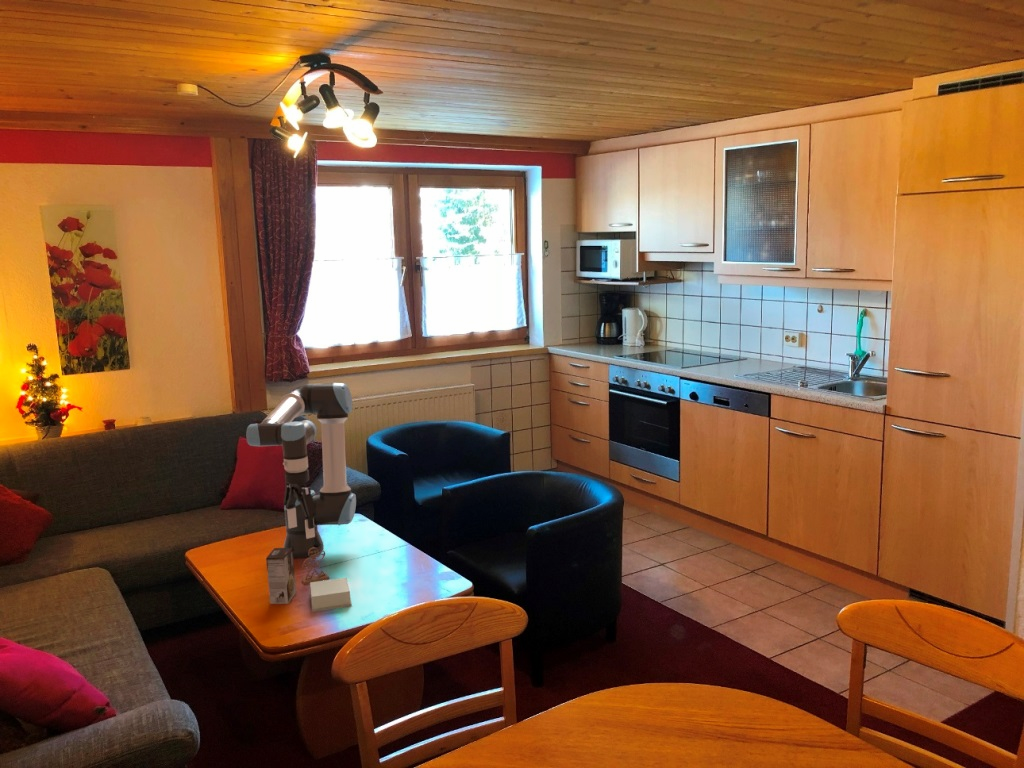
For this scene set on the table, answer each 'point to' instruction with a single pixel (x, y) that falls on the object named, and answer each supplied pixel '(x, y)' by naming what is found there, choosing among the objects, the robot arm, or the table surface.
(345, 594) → the pedestal
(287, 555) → the coffee box
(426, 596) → the table surface
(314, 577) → the gingerbread man figurine
